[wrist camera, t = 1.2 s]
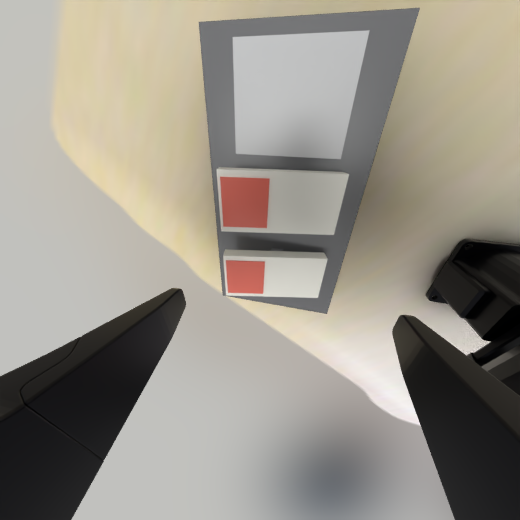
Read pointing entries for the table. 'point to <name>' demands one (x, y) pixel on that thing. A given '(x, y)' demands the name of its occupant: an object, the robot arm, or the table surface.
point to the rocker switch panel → (301, 113)
